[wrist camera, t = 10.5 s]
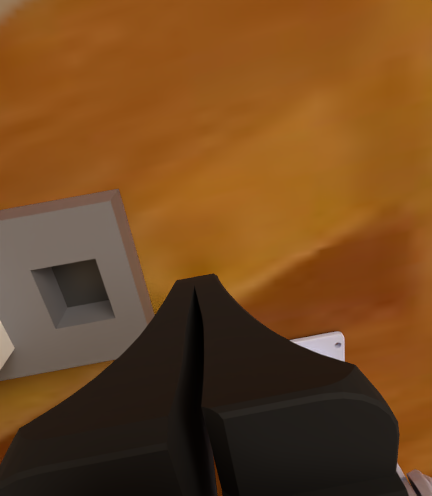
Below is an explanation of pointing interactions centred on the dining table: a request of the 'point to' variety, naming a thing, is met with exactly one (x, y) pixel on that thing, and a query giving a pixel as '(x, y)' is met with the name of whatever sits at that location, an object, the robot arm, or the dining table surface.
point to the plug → (4, 346)
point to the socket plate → (69, 284)
